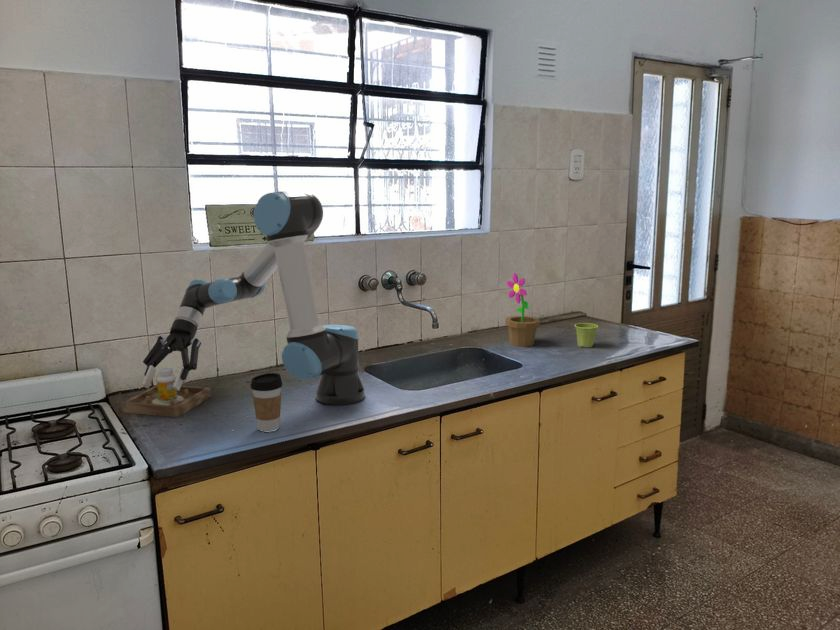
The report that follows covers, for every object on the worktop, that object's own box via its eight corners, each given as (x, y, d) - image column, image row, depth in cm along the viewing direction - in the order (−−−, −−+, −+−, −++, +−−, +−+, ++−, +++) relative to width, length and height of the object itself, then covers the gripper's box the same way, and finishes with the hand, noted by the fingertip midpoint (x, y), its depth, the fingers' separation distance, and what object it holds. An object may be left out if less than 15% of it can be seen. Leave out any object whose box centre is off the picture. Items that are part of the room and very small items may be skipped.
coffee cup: (289, 430, 177) (287, 377, 174) (259, 437, 172) (257, 383, 169) (277, 420, 184) (274, 370, 181) (248, 427, 179) (245, 375, 176)
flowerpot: (497, 342, 271) (499, 271, 264) (523, 337, 278) (525, 268, 272) (520, 349, 259) (523, 276, 253) (546, 345, 267) (549, 273, 260)
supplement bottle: (155, 400, 196) (152, 369, 194) (171, 395, 200) (169, 365, 198) (164, 404, 193) (161, 373, 191) (180, 399, 197) (178, 369, 194)
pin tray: (159, 392, 207) (158, 382, 206) (210, 396, 203) (209, 385, 203) (123, 412, 190) (121, 400, 189) (178, 417, 186) (177, 405, 185)
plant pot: (580, 349, 260) (581, 328, 258) (569, 343, 269) (570, 323, 267) (601, 348, 262) (602, 327, 260) (589, 342, 271) (591, 322, 269)
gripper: (222, 332, 205) (199, 395, 193) (160, 328, 209) (134, 390, 197) (213, 319, 199) (188, 384, 187) (148, 316, 203) (121, 379, 191)
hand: (160, 387), depth 192 cm, fingers open, 9 cm apart
